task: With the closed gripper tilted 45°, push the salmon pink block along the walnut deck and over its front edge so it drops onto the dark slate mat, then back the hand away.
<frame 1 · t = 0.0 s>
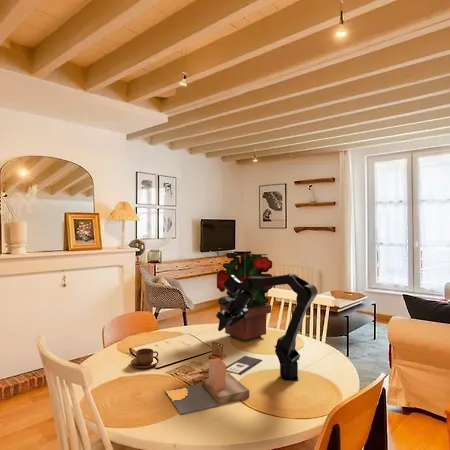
hand: (224, 328, 168), 15 cm above the table, tool tilted 35°, fingers open, 9 cm apart
walnut deck: (224, 391, 139), on the table
slate mat: (190, 398, 133), on the table
salmon pink block: (217, 386, 137), point 2 cm above the table, touching walnut deck
potted plant: (245, 337, 203), on the table
cup and saucer: (144, 365, 164), on the table
chocolate bar: (243, 366, 164), on the table
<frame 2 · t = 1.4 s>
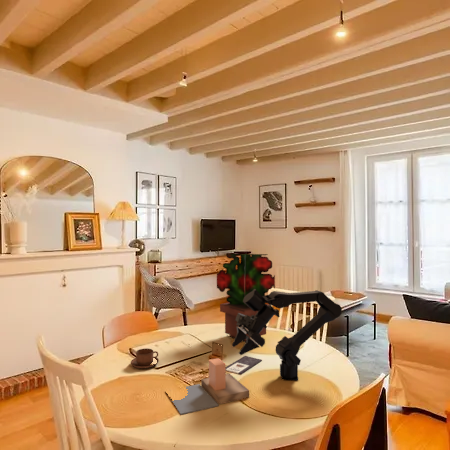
hand: (236, 350, 145), 13 cm above the table, tool tilted 40°, fingers open, 9 cm apart
nothing on the table moved.
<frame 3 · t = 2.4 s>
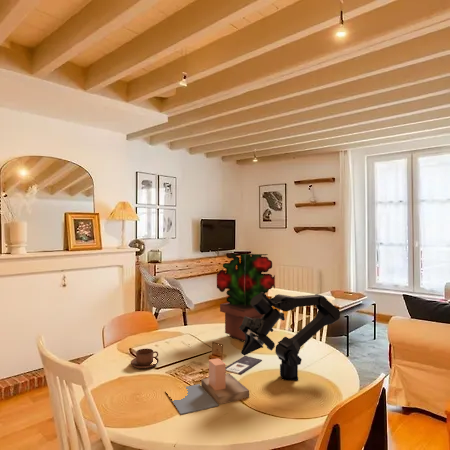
hand: (242, 354, 142), 13 cm above the table, tool tilted 45°, fingers closed
nothing on the table moved.
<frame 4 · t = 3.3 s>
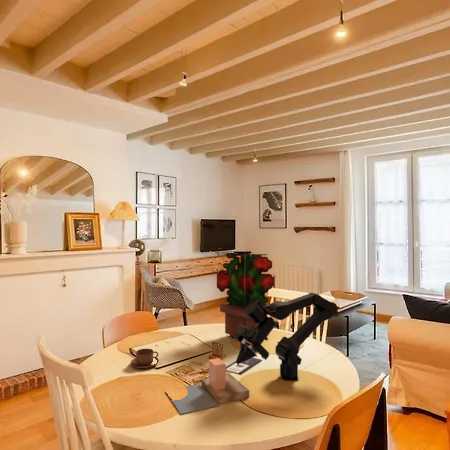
hand: (236, 363, 141), 10 cm above the table, tool tilted 45°, fingers closed
nothing on the table moved.
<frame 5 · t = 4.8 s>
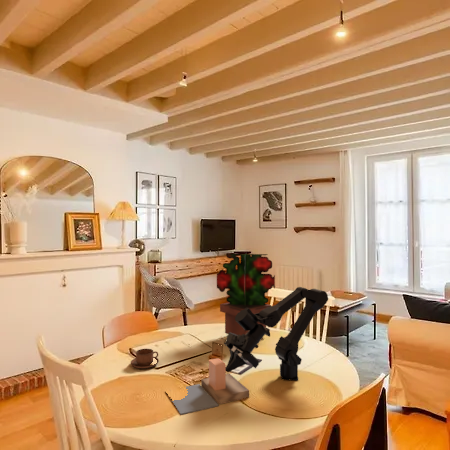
hand: (226, 371, 139), 7 cm above the table, tool tilted 45°, fingers closed
nothing on the table moved.
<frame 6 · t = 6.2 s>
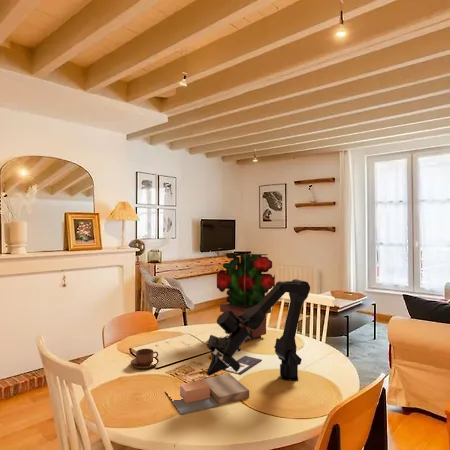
hand: (207, 375, 136), 7 cm above the table, tool tilted 45°, fingers closed
salmon pink block: (206, 388, 136), point 2 cm above the table, tilted 90°, touching slate mat
everything else where it was.
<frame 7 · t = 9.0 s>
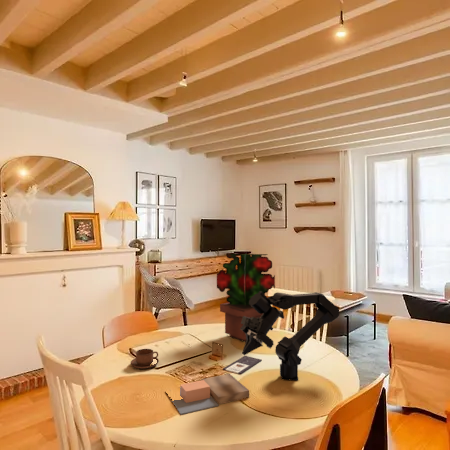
hand: (243, 354, 142), 13 cm above the table, tool tilted 40°, fingers closed
nothing on the table moved.
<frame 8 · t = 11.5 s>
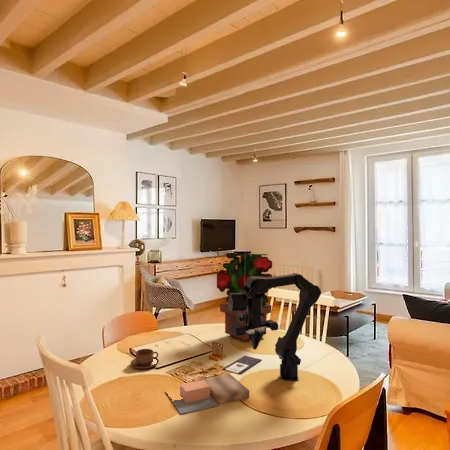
hand: (254, 349, 146), 13 cm above the table, tool pointing down, fingers closed
nothing on the table moved.
at the end: salmon pink block touching slate mat; salmon pink block inside the target area on the slate mat (6.1 cm from its centre), point 2.4 cm above the slate mat's base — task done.
